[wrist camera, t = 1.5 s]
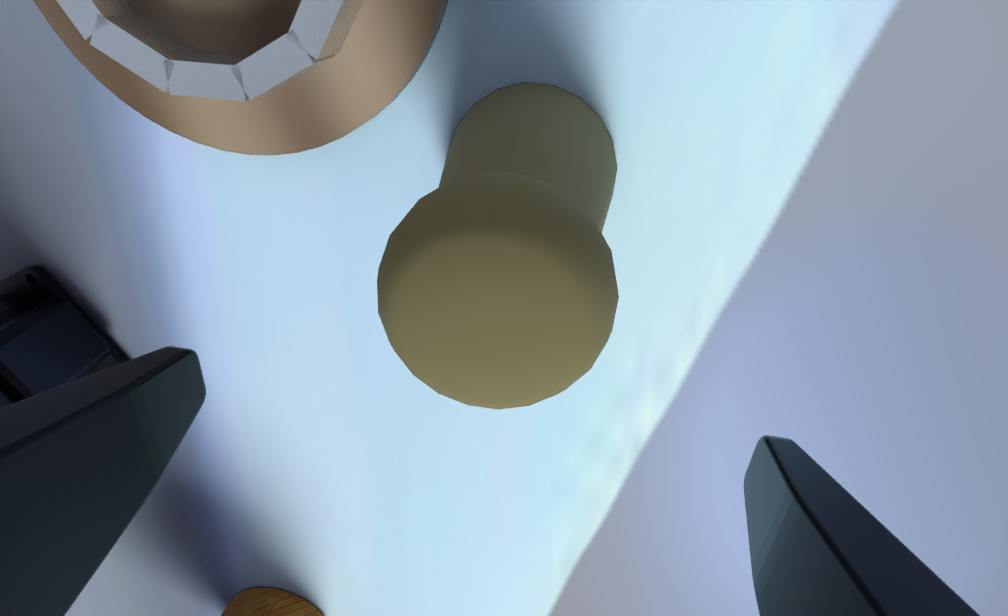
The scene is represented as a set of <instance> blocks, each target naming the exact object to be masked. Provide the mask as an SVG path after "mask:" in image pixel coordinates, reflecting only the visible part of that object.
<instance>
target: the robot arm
mask: <svg viewBox="0 0 1008 616" xmlns="http://www.w3.org/2000/svg"><path fill="white" fill-rule="evenodd" d="M35 277H36V278H35ZM205 396H206V387H205V383H204V379H203V375H202V370H201V366H200V362H199V358H198V355H197V354H196V352H195V351H194V350H192V349H188V348H181V347H175V346H167V347H164V348H161V349H159V350H156V351H153V352H151V353H148V354H145V355H142V356H140V357H137V358H134V359H132V360H129V361H126V359H125V358H124V357H123V356H122V355H121V354H120V353H119V352H118V350H117V349H116V348H115V347H114V346H113V345H112V344H111V343H110V342H109V340H108V339H107V338H106V337H105V336H104V335H103V334H102V333H101V332H100V330H99V329H98V328H97V327H96V326H95V325H94V324H93V323H92V321H91V320H90V319H89V318H88V317H87V316H86V315H85V314H84V313H83V311H82V310H81V309H80V308H79V307H78V306H77V305H76V304H75V302H74V301H73V300H72V299H71V298H70V297H69V296H68V295H67V294H66V292H65V291H64V290H63V289H62V288H61V287H60V286H59V285H58V283H57V282H56V281H55V280H54V279H53V278H52V277H51V276H50V275H49V273H48V272H47V271H46V270H45V269H43V268H42V267H40V266H38V265H30V266H28V267H26V268H24V269H23V270H21V271H19V272H17V273H15V274H14V275H12V276H10V277H8V278H6V279H5V280H3V281H1V282H0V616H65V614H66V613H67V611H68V610H69V608H70V607H71V606H72V604H73V603H74V601H75V600H76V599H77V597H78V596H79V594H80V593H81V592H82V590H83V589H84V587H85V586H86V584H87V583H88V582H89V580H90V579H91V577H92V576H93V575H94V573H95V572H96V570H97V569H98V567H99V566H100V565H101V563H102V562H103V560H104V559H105V558H106V556H107V555H108V553H109V552H110V550H111V549H112V548H113V546H114V545H115V543H116V542H117V541H118V539H119V538H120V536H121V535H122V534H123V532H124V531H125V529H126V528H127V526H128V525H129V524H130V522H131V521H132V519H133V518H134V517H135V515H136V514H137V512H138V511H139V509H140V508H141V507H142V505H143V504H144V502H145V501H146V500H147V498H148V497H149V495H150V494H151V492H152V491H153V489H154V488H155V486H156V485H157V483H158V482H159V480H160V479H161V477H162V475H163V474H164V472H165V470H166V469H167V467H168V465H169V463H170V462H171V460H172V458H173V456H174V454H175V453H176V451H177V449H178V447H179V446H180V444H181V442H182V440H183V439H184V437H185V435H186V433H187V431H188V430H189V428H190V426H191V424H192V423H193V421H194V419H195V417H196V416H197V414H198V412H199V410H200V408H201V407H202V405H203V403H204V400H205ZM744 497H745V507H746V517H747V527H748V536H749V547H750V556H751V567H752V575H753V583H754V589H755V595H756V600H757V605H758V609H759V614H760V616H980V615H978V613H976V611H975V610H973V609H972V608H971V607H970V606H969V605H968V604H967V603H966V602H965V601H964V600H963V599H962V598H961V597H959V596H958V595H957V594H956V593H955V592H954V591H953V590H952V589H951V588H950V587H949V586H948V585H947V584H945V582H944V581H942V580H941V579H940V578H939V577H938V576H937V575H936V574H935V573H934V572H933V571H932V570H931V569H930V568H929V567H928V566H926V565H925V564H924V563H923V562H922V561H921V560H920V559H919V558H918V557H917V556H915V554H914V553H912V552H911V551H910V550H909V549H908V548H907V547H906V546H905V545H904V544H903V543H902V542H901V541H899V539H898V538H896V537H895V536H894V535H893V534H892V533H891V532H890V531H889V530H888V529H887V528H886V527H885V526H884V525H883V524H882V523H881V522H879V521H878V520H877V519H876V518H875V517H874V516H873V515H872V514H871V513H870V512H869V511H868V510H867V509H866V508H864V507H863V506H862V505H861V504H860V503H859V502H858V501H857V500H856V499H855V498H854V497H853V496H852V495H851V494H850V493H848V492H847V491H846V490H845V489H844V488H843V487H842V486H841V485H840V484H839V483H838V482H837V481H836V480H835V479H833V478H832V477H831V476H830V475H829V474H828V473H827V472H826V471H825V470H824V469H823V468H822V467H821V466H820V465H819V464H817V463H816V462H815V461H814V460H813V459H812V458H811V457H810V456H809V455H808V454H807V453H806V452H805V451H804V450H803V449H801V448H800V447H799V446H798V445H797V444H796V443H795V442H794V441H792V440H791V439H788V438H782V437H775V436H768V435H765V436H762V437H761V438H760V439H759V441H758V443H757V445H756V448H755V450H754V453H753V455H752V458H751V461H750V463H749V466H748V468H747V471H746V474H745V478H744Z"/></svg>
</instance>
